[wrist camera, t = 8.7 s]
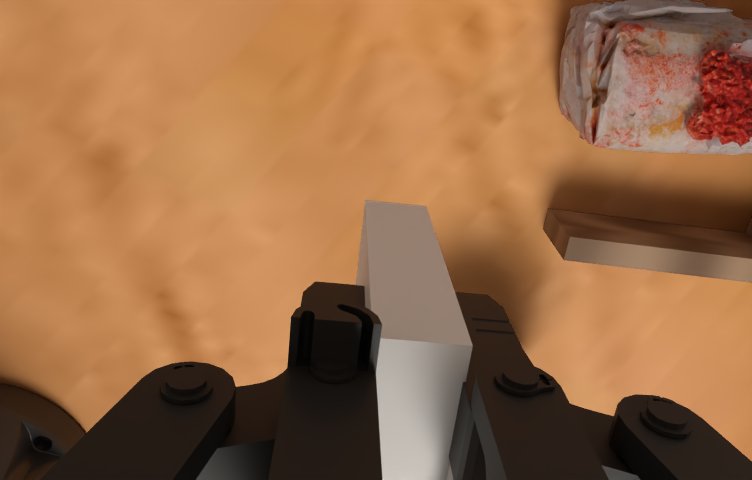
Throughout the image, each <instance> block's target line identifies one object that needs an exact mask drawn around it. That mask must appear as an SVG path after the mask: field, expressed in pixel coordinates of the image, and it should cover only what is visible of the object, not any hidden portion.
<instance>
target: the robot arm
mask: <svg viewBox="0 0 752 480" xmlns="http://www.w3.org/2000/svg"><path fill="white" fill-rule="evenodd" d="M514 333H515V332H514V330H513V328H512V326H511V324H509V319H508V317H507V315H506V313H505V311H504V309H503V307H502V306H500V305H499V304H498V303H497V302H496V301H494V300H493V299H492V298H491V297H489V296H488V295H482V294H471V293H460V292H455V291H454V288H453V285H452V282H451V279H450V276H449V273H448V270H447V267H446V264H445V261H444V258H443V255H442V252H441V249H440V246H439V243H438V240H437V237H436V234H435V231H434V228H433V225H432V222H431V219H430V216H429V213H428V210H427V207H426V206H421V205H410V204H400V203H390V202H380V201H370V200H365V207H364V216H363V225H362V234H361V243H360V252H359V261H358V270H357V279H356V285H349V284H337V283H326V282H314V283H313V284H312V285H311V286H310V287H308V288H307V289H306V290H305V291H304V292H303V296H302V302H301V307H299V308H297V309H296V310H295V312H294V313H293V315H292V317H291V327H290V341H289V355H288V367H287V369H286V370H285V371H284V372H283V373H282V374H280V375H279V376H277V377H275V378H274V379H271V380H268V381H266V382H263V383H258V384H253V385H247V386H240V387H236V386H235V383H234V380H233V377H232V376H231V375H229V374H228V373H227V372H226V371H225V370H224V369H222V368H219V367H216V366H214V365H211V364H208V363H199V362H183V363H182V362H180V363H173V364H169V365H166V366H164V367H161V368H158V369H155V370H153V371H152V372H150V373H149V374H148V375H146V376H145V377H143V378H142V379H141V380H140V381H139V382H138V383H137V384H136V385H135V386H134V387H133V388H132V389H131V390H130V391H129V392H128V393H127V394H126V395H125V396H124V397H123V398H122V399H121V400H120V401H119V402H118V403H117V404H116V405H114V406H113V407H112V408H111V409H110V410H109V411H108V412H107V413H106V414H105V415H104V416H103V417H102V418H101V419H100V420H99V421H98V422H97V423H96V424H95V425H94V426H93V427H92V428H91V429H90V430H89V431H88V432H87V433H86V434H85V433H84V432H83V431H82V429H81V428H80V427H79V426H78V425H77V423H76V422H75V421H74V420H73V419H72V418H71V417H69V416H68V415H67V414H66V413H65V412H64V411H62V410H61V409H60V408H58V407H57V406H55V405H54V404H52V403H51V402H49V401H47V400H45V399H44V398H42V397H40V396H38V395H35V394H33V393H31V392H28V391H26V390H23V389H20V388H17V387H13V386H9V385H5V384H0V480H447V477H448V471H449V466H450V465H451V470H452V475H453V480H752V462H751V461H750V460H749V459H748V458H747V457H746V456H745V455H743V454H742V453H741V452H740V451H739V450H738V449H737V448H735V447H734V446H733V445H732V444H731V443H730V442H729V441H727V440H726V439H725V438H724V437H723V436H722V435H720V434H719V433H718V432H717V431H716V430H715V429H714V428H712V427H711V426H710V425H709V424H708V423H707V422H706V421H704V420H703V419H702V418H701V417H699V416H698V415H696V414H695V413H694V412H692V411H691V410H689V409H688V408H686V407H684V406H682V405H679V404H677V403H675V402H674V401H672V400H670V399H667V398H661V397H659V396H654V395H632V396H628V397H624V398H623V399H622V400H621V401H620V402H619V403H618V405H617V408H616V412H615V415H614V416H610V415H606V414H603V413H599V412H595V411H592V410H588V409H584V408H581V407H578V406H575V405H572V404H570V403H569V401H568V399H567V397H566V395H565V394H564V392H563V390H562V388H561V386H560V385H559V384H558V383H557V381H556V380H555V379H554V378H553V377H552V376H550V375H549V374H547V373H546V372H544V371H543V370H541V369H539V368H537V367H534V366H532V365H530V364H529V362H528V360H527V358H526V356H525V354H524V351H523V349H522V347H521V345H520V343H519V341H518V339H517V336H516V335H514Z"/></svg>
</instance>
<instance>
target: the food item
mask: <svg viewBox="0 0 752 480" xmlns="http://www.w3.org/2000/svg"><path fill="white" fill-rule="evenodd" d="M731 11H733V10H730V9H727V8H719V7H713V6H706V5H705V4H704V3H701V2H692V1H690V0H626V1H616V2H615V3H610V2H605V1H603V3H602V4H600V3H589V4H585V5H580V6H574V7H573V8H572V9H571V10H570V20H569V22H568V27H567V30H566V33H565V43H564V46H563V48H562V51H561V60H560V69H559V72H560V97H559V103H560V109H561V112H562V114H563V115H564V116H565V117H566V118H567V119H568V120H569V121H571V122H572V123H573V125H574V126H575V128H576V129H577V130H578V131H580V138H582V139H586V140H587V143H589V144H593V145H595V146H596V147H603V148H609V149H621V150H632V151H640V152H658V153H677V152H678V153H690V154H731V155H739V154H746V153H752V19H741V18H738V17H736V16H733V15H732V13H731Z"/></svg>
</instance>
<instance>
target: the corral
mask: <svg viewBox="0 0 752 480" xmlns="http://www.w3.org/2000/svg"><path fill="white" fill-rule="evenodd" d="M543 230H544V232H545V233H546V234H547V236H548V237H549V239H550V240H551V242H552V243H553V245H554V246H555V248H556V249H557V251H558V252H559V254H560V255H561V257H562V258H563V260H568V261H576V262H584V263H593V264H601V265H609V266H618V267H626V268H634V269H643V270H651V271H659V272H668V273H676V274H684V275H693V276H701V277H709V278H718V279H726V280H734V281H742V282H751V283H752V217H751V219H750V222H749V224H748V227H747V230H746V232H745V233H742V232H734V231H726V230H718V229H710V228H702V227H694V226H686V225H677V224H669V223H661V222H653V221H645V220H637V219H629V218H621V217H613V216H605V215H597V214H589V213H581V212H573V211H565V210H557V209H549V208H548V212H547V216H546V220H545V224H544V228H543Z"/></svg>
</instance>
